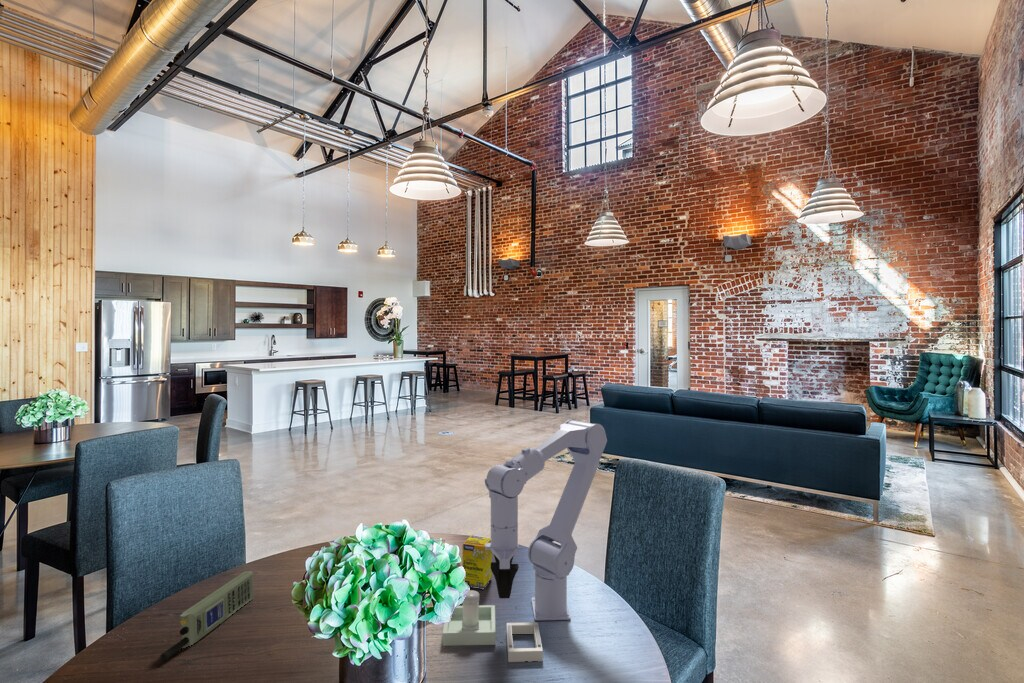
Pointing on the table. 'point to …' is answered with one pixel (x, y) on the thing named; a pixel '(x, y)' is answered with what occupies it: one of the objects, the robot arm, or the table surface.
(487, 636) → the parts tray
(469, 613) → the cylinder
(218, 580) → the table surface
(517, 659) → the holder
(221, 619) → the handheld radio
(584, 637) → the table surface
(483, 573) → the supplement box
